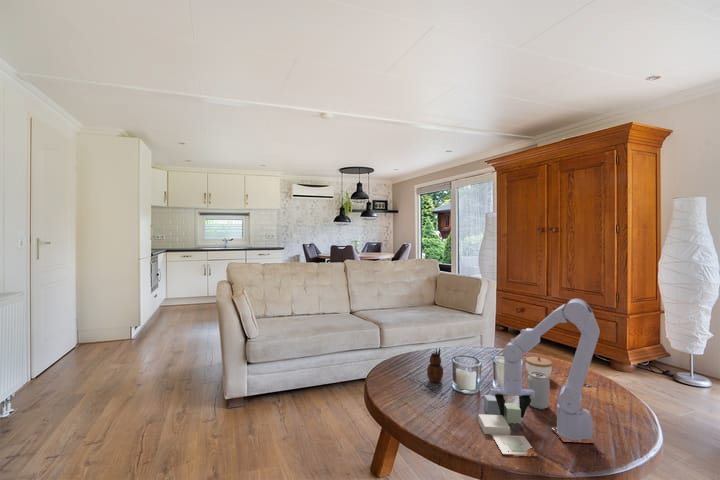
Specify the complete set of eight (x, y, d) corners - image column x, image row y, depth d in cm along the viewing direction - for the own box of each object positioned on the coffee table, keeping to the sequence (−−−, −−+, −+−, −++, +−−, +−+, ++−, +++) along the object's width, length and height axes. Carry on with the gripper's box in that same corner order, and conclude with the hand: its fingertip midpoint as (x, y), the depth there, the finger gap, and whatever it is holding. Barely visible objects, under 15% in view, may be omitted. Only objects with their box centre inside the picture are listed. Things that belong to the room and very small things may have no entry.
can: (551, 405, 137) (552, 374, 136) (545, 412, 131) (546, 379, 131) (530, 399, 142) (531, 368, 142) (524, 405, 136) (524, 374, 136)
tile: (524, 437, 114) (524, 435, 114) (537, 457, 104) (537, 454, 104) (492, 436, 115) (492, 433, 115) (502, 455, 105) (502, 452, 105)
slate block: (496, 408, 134) (496, 395, 134) (500, 414, 129) (500, 400, 129) (483, 408, 134) (484, 394, 134) (487, 414, 130) (487, 400, 130)
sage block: (515, 417, 127) (516, 403, 127) (520, 424, 123) (521, 409, 123) (502, 416, 128) (503, 402, 128) (507, 423, 123) (507, 409, 123)
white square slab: (501, 423, 124) (502, 415, 124) (510, 436, 116) (510, 427, 116) (478, 422, 124) (478, 414, 124) (484, 435, 116) (484, 426, 116)
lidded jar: (524, 378, 162) (524, 358, 162) (527, 371, 171) (527, 351, 171) (550, 384, 156) (551, 362, 156) (552, 376, 165) (553, 355, 165)
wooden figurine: (444, 381, 158) (445, 347, 158) (440, 385, 153) (440, 350, 153) (430, 377, 162) (430, 344, 162) (425, 381, 157) (425, 347, 157)
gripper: (529, 373, 129) (528, 411, 129) (487, 372, 130) (487, 409, 130) (537, 381, 122) (536, 421, 122) (493, 380, 123) (493, 419, 123)
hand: (511, 416), depth 125 cm, fingers open, 6 cm apart
